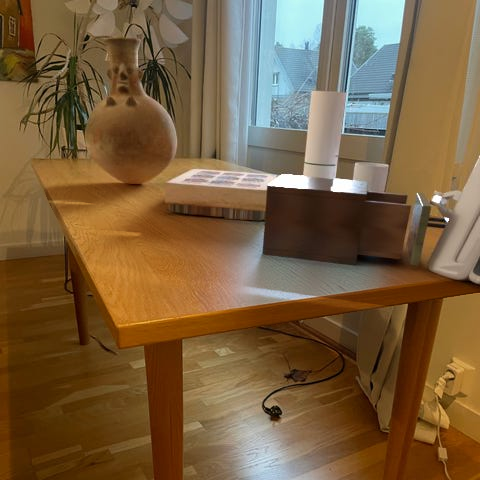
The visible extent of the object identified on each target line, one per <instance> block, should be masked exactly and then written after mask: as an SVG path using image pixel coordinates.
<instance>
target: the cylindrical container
mask: <svg viewBox="0 0 480 480" xmlns="http://www.w3.org/2000/svg"><path fill="white" fill-rule="evenodd" d="M346 100H347V92H346V91H345V92H344V91H331V90H330V91H329V90H311V94H310V104H309V111H308V112H309V113H308V121H307V122H308V125H307V132H306V133H307V134H306V145H305V151H304V152H305V154H304V164H303V174H302V176H306V177H317V178H329V179H337V178H336V176H337V169H338V163H339V154H340V146H341V138H342V131H343V130H342V129H343V123H344V115H345V108H346V107H345V106H346Z"/></svg>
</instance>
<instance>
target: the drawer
mask: <svg viewBox="0 0 480 480" xmlns="http://www.w3.org/2000/svg"><path fill="white" fill-rule="evenodd" d="M408 197H409V195H408V194H404V193H395V192H394V193H393V192H385V191H384V192H373V191H367V196H366V203H365V209H364V215H363V222H362V228H361V234H360V241H359V247H358V253H357V255H361V256H367V257H368V256H369V257H377V258H386V259H395V260H401V259H402V254H403V249H404V244H405V239H406V234H407V229H408V225H409V220H410V225H409V229H408V235H407V240H406V249H407V255H408V259H409V263H410V265H411V266H419V265H420V261H421V257H422V252H423V246H424V243H425V238H426V233H427V229H428V228H435V229H444V228H445V226H446V224H447V222H448V220H449V219H447V218H444V217H435V216H431V215H430V214H431V210H432V204H430V201H429V200H428V198H427V196H426V194H425V193H424V192H416V195H415V199H414V204H413V210H412V214H411V208H412V205H411V204H407V202H408V201H407V200H408ZM410 214H411V219H409V218H410Z"/></svg>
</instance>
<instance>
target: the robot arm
mask: <svg viewBox="0 0 480 480" xmlns="http://www.w3.org/2000/svg"><path fill="white" fill-rule="evenodd" d="M448 200H454V201H457V202H456V204H455V205H454V208H453V209H450V208H449V207H448V206H447V205H446V204H447V202H448ZM429 203H430V205H431V206H435V207H436V208H437V210H438V211H439V213H440V215H441V216H442V218H447V219H449V220H448V222H447V224H446V226H445V228H443V230H442V232H441V234H440V236H439V238H438V239H437V242H436V244H435V246H434V248H433V251H432V252H431V255H430V256H429V259H428V260H427V267H428V269H429V271H430V272H431V273H434V274H436V275H439V276H440V277H441V276H442V277H443V278H444V277H445V278H447V279H451V280H454V281H461V282H470V281H471V282H472V283H473V284H477V285H479V286H480V155H479V156H478V158H477V160H476V163H475V164H474V167H473V169H472V170H471V172H470V175H469V177H468V179H467V180H466V183H465V185H464V187H463V189H462V190H461V191H460V190H458V189H455V190H454V189H453V190H450V191H447V192H440V191H437V190H434V192H433V194H432V196H431V198H430V201H429Z"/></svg>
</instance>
